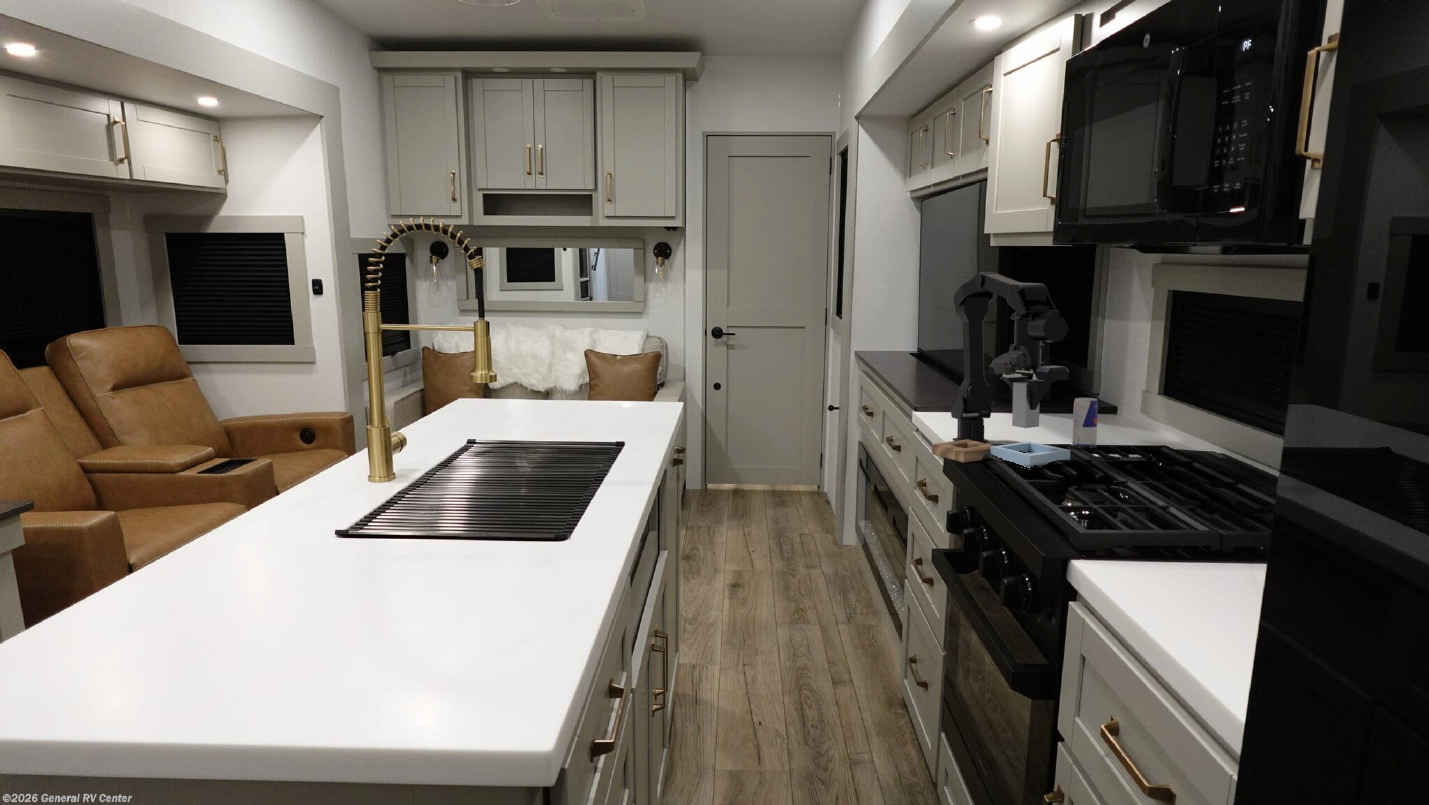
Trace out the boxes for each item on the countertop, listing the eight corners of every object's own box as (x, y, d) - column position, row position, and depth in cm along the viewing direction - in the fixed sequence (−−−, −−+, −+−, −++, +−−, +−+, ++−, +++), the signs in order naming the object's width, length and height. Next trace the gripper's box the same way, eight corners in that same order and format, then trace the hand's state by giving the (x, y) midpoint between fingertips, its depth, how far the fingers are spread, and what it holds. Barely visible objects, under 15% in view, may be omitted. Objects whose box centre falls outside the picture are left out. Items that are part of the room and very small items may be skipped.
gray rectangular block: (1012, 425, 181) (1013, 382, 179) (1025, 424, 182) (1026, 381, 181) (1025, 428, 177) (1026, 384, 176) (1038, 426, 179) (1040, 382, 177)
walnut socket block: (932, 454, 191) (932, 443, 191) (967, 449, 195) (967, 439, 195) (963, 462, 181) (963, 451, 181) (1000, 457, 185) (1000, 446, 185)
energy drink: (1100, 449, 191) (1102, 400, 190) (1077, 449, 192) (1079, 400, 190) (1090, 444, 197) (1092, 397, 195) (1068, 445, 197) (1070, 397, 195)
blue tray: (990, 459, 184) (990, 446, 183) (1029, 453, 188) (1029, 441, 188) (1029, 469, 173) (1030, 455, 172) (1069, 463, 177) (1070, 450, 177)
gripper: (970, 340, 182) (969, 406, 185) (1032, 343, 165) (1030, 417, 168) (1007, 337, 187) (1006, 403, 189) (1071, 341, 170) (1069, 412, 172)
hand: (1026, 408), depth 179 cm, fingers closed on gray rectangular block, 4 cm apart
